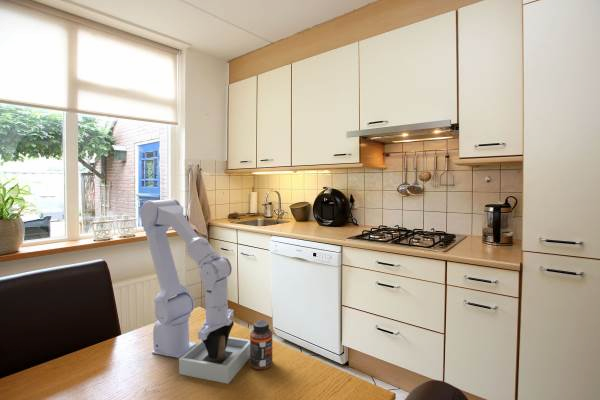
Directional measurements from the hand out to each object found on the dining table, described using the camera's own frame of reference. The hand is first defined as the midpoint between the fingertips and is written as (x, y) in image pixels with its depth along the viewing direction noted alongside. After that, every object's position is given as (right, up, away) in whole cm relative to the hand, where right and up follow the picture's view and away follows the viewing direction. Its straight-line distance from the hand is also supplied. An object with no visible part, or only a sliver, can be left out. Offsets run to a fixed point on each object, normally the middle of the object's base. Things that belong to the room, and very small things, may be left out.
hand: (217, 353), depth 87 cm
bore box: (0, -3, 0) cm, 3 cm away
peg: (0, -2, 0) cm, 2 cm away
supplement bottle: (+12, -3, 0) cm, 12 cm away
